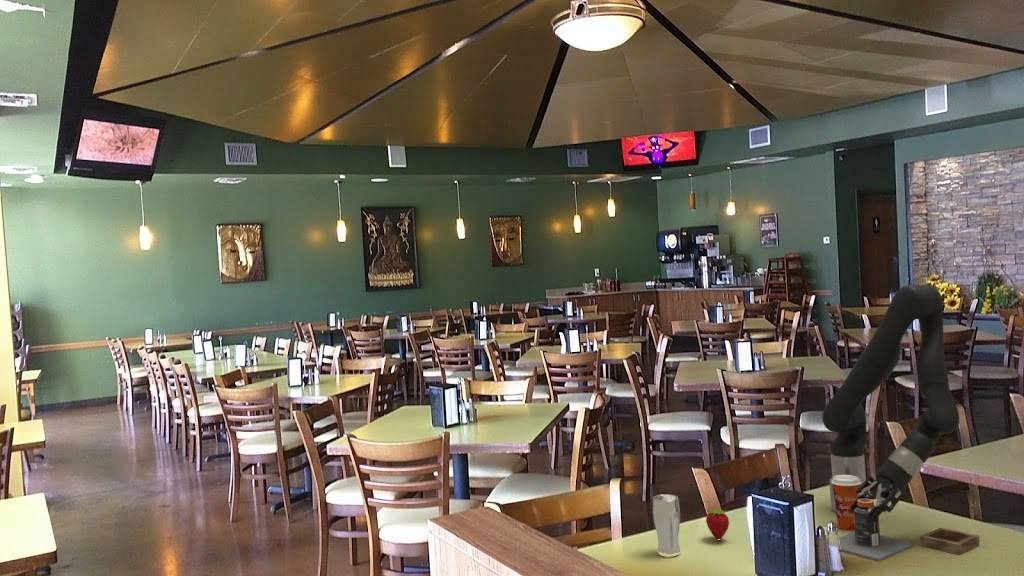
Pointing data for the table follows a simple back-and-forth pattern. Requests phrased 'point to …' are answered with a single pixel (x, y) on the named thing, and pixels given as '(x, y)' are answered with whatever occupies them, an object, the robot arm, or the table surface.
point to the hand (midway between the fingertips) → (860, 515)
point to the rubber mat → (873, 547)
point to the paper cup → (845, 499)
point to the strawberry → (717, 523)
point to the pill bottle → (865, 524)
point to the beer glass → (667, 522)
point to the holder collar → (962, 539)
